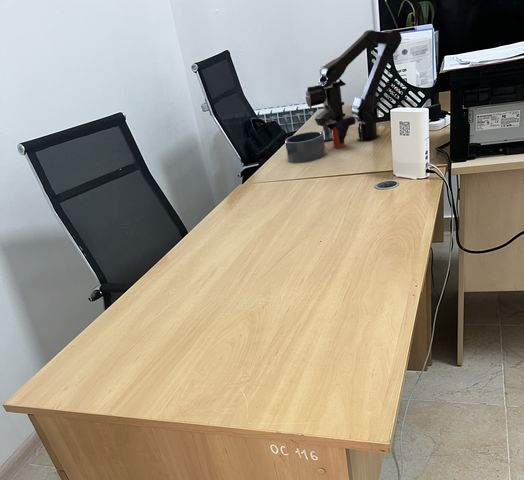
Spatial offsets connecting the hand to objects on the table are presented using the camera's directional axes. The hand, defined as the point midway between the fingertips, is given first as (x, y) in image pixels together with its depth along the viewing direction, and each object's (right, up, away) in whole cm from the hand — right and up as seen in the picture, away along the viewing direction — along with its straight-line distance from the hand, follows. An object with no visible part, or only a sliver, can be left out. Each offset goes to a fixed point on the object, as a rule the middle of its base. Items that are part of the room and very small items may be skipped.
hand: (338, 142), depth 215 cm
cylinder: (0, -1, +1) cm, 2 cm away
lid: (-3, +9, +17) cm, 19 cm away
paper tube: (+2, +19, +31) cm, 37 cm away
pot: (-13, -7, -3) cm, 15 cm away
